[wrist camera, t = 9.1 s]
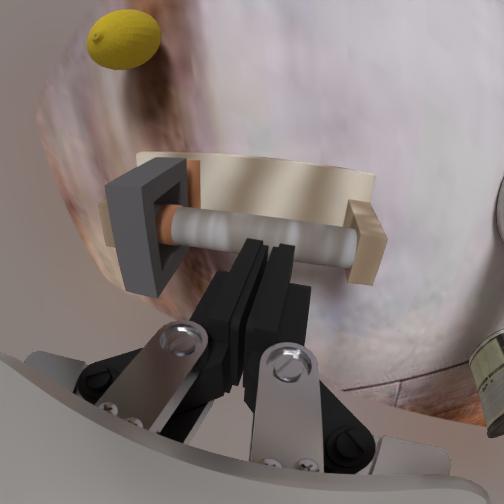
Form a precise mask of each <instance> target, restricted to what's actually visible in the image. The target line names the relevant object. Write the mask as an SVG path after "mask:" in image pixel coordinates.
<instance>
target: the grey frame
mask: <svg viewBox="0 0 504 504" xmlns="http://www.w3.org/2000/svg"><path fill="white" fill-rule="evenodd" d="M105 192H106V198H107V205H108V211H109V217H110V222H111V228H112V233H113V238H114V243H115V248H116V252H117V257H118V261H119V266H120V270H121V274H122V278H123V282H124V286H125V289H126V291H128V292H132V293H136V294H140V295H145V296H149V297H154V298H158V297H159V295H160V294H161V292H162V291H163V289H164V288H165V286H166V285H167V283H168V282H169V280H170V279H171V277H172V276H173V274H174V273H175V271H176V270H177V268H178V267H179V265H180V264H181V262H182V261H183V259H184V258H185V256H186V255H187V253H188V252H189V250H190V246H183V245H178V246H174V245H167V244H160V243H158V239H157V230H156V222H155V212H154V204H158V205H163V204H172V205H182V206H183V207H188V192H187V158H171V157H155V158H153V159H151V160H149V161H147V162H145V163H144V164H142V165H140V166H138V167H136V168H134V169H132V170H131V171H129V172H127V173H125V174H123V175H122V176H120V177H118V178H116V179H115V180H113V181H111V182H110V183H108V184H106V185H105Z"/></svg>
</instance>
